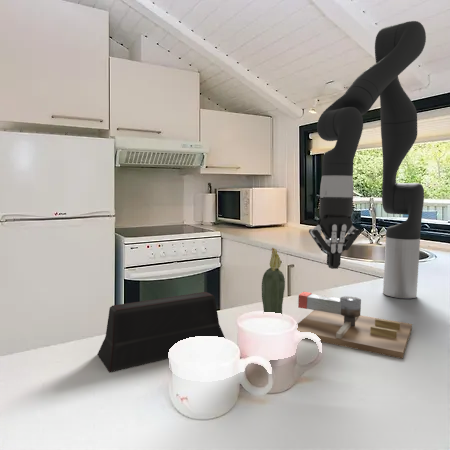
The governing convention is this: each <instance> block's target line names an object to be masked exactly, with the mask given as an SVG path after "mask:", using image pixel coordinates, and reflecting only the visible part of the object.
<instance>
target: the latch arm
mask: <svg viewBox="0 0 450 450" xmlns="http://www.w3.org/2000/svg"><path fill="white" fill-rule="evenodd" d="M297 300H298V301H297V302H298V303H297V304H298V305H297V306H298V308H299V309H306V310H311V311H313V310H317V311H323V312H328V313H334V314H340V315H343V316H346V317H359V316H360V315H361V311H362V310H361V309H362V299H361V298H358V297H356V296H348V295H347V296H346V295H345V296H341V297H333V296H327V295H321V294H313V293H312V292H309V291H303V292H301V293H299V294H298V299H297Z"/></svg>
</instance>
